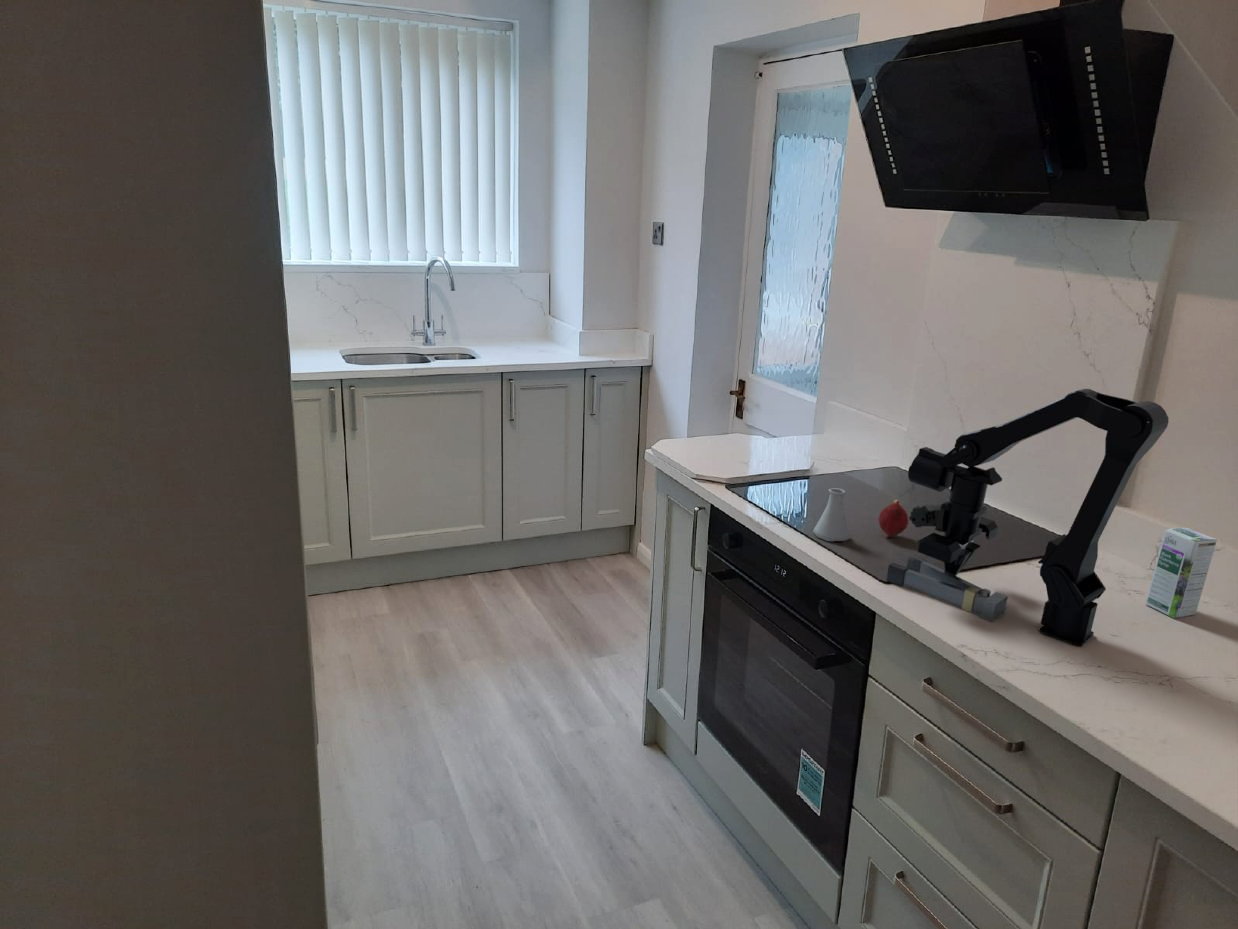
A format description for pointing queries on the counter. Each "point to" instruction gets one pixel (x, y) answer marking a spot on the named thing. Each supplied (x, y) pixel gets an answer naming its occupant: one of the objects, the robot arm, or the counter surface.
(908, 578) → the tongs
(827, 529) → the flask
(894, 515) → the onion
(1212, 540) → the syrup box
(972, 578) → the counter surface
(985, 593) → the tongs arm
